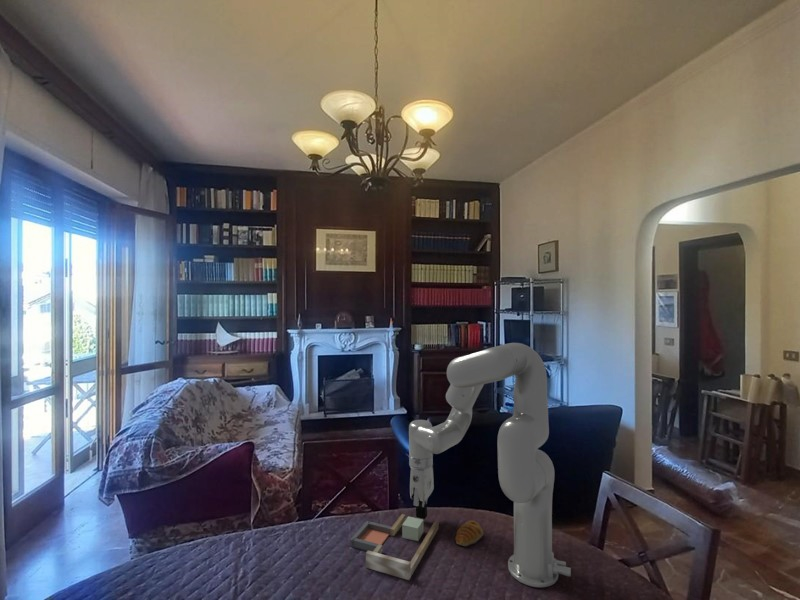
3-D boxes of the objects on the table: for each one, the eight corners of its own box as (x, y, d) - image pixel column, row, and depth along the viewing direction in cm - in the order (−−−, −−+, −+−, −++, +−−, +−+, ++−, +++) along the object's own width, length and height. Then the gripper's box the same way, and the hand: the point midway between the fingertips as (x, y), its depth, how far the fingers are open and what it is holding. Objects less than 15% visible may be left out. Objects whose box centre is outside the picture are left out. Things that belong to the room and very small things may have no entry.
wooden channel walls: (438, 528, 126) (438, 515, 126) (408, 580, 104) (408, 564, 104) (402, 520, 131) (401, 507, 131) (366, 567, 109) (365, 552, 109)
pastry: (470, 551, 115) (469, 538, 115) (449, 543, 120) (449, 530, 119) (484, 535, 123) (484, 523, 123) (465, 528, 127) (464, 516, 127)
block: (423, 532, 125) (423, 519, 125) (417, 541, 120) (417, 528, 120) (408, 528, 127) (408, 516, 127) (402, 538, 122) (402, 524, 122)
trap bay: (392, 533, 124) (391, 526, 124) (376, 553, 115) (376, 546, 115) (367, 527, 128) (367, 520, 128) (350, 546, 118) (350, 539, 118)
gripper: (423, 471, 122) (424, 532, 122) (439, 453, 135) (439, 507, 136) (400, 467, 124) (401, 526, 125) (418, 450, 138) (418, 503, 139)
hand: (421, 516), depth 130 cm, fingers closed
